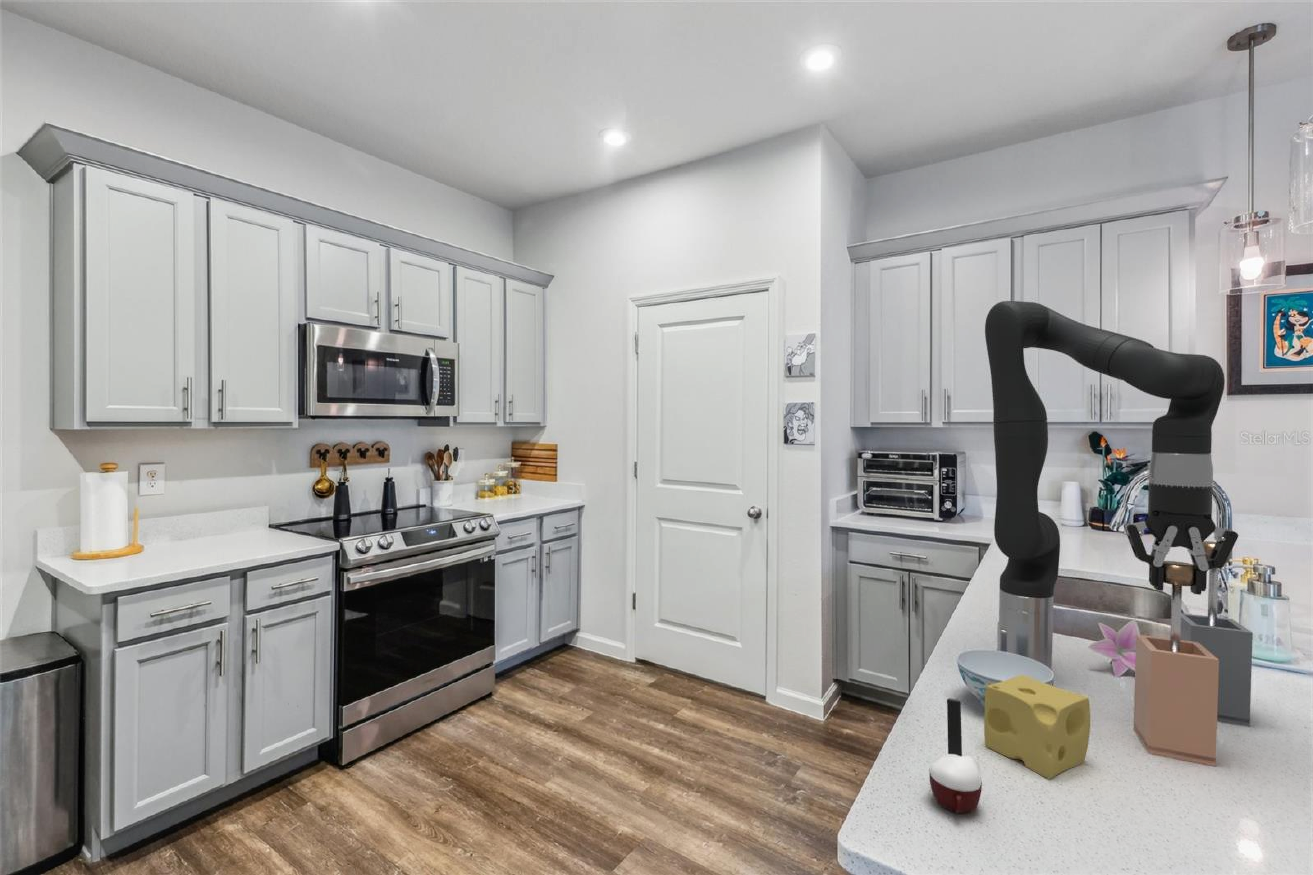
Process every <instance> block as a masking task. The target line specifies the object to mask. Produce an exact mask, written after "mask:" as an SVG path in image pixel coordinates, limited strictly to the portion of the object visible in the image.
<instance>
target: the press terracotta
mask: <svg viewBox="0 0 1313 875" xmlns="http://www.w3.org/2000/svg"><path fill="white" fill-rule="evenodd" d="M1218 674H1219V660H1218V659H1217V658H1216V657H1215V656H1214V655H1213V654H1211V653H1210V652H1209V651H1208V650H1207V649H1206V648H1204V647H1203V646H1202V645H1201V644H1200V643H1199V642H1192V641H1184V640H1180V653H1178V652H1171V651H1170V638H1167V637H1159V636H1151V635H1144V634H1140V635H1137V634H1136V655H1135V671H1134V694H1133V696H1134V697H1133V698H1134V699H1133V702H1134V703H1133V731H1134V733H1135V735H1136V736H1137V738H1138V739H1139V740H1140V742H1141V744H1142V746H1143V747H1144V749H1145V750H1146V752H1147V754H1151V755H1156V756H1161V757H1166V758H1171V759H1176V760H1182V761H1186V762H1190V763H1191V762H1192V763H1197V764H1201V765H1206V766H1213V767H1217V761H1216V760H1217V759H1216V758H1217V736H1218V735H1217V733H1218V732H1217V730H1218V721H1217V707H1218Z"/></svg>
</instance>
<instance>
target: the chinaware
mask: <svg viewBox="0 0 1313 875" xmlns="http://www.w3.org/2000/svg"><path fill="white" fill-rule="evenodd" d="M956 663H957V668H958V671H959V673H960V676H961V679H962V681H963V683H964V685H965V686H966V688H967V689H968V690H969V691H970V692H971V693H972V694H973V695H974V696H975V697H976V698H977V699H978V700H979V701H981V702H980V703H981V706H982V705H983V706H982V707H983V708H984V709H985V692H986V686H988V685H991V684H995V683H999V682H1002V681H1005V680H1008V679H1011V678H1013V677H1016V676H1019V675H1025V676H1028V677H1030V678H1033V679H1035V680H1038V681H1040V682H1043V683H1046V684H1049V685H1051V686H1053V683H1054V678H1055V674H1054V672H1053V670H1051V669H1049V668H1048V667H1047V666H1045V665H1043V664H1042V663H1040V662H1038V661H1035V660H1033V659H1030V658H1027V657H1024V656H1021V655H1017V654H1013V653H1008V652H1003V651H997V649H996V650H995V649H981V648H980V649H970V650H965V651H961V652H960V653H958V654H957V656H956Z"/></svg>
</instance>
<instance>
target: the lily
mask: <svg viewBox="0 0 1313 875" xmlns="http://www.w3.org/2000/svg"><path fill="white" fill-rule="evenodd" d="M1098 626H1099V628H1100V631H1101V634H1102V635H1103V637H1104V638H1103V639H1099V640H1097V641H1095V642H1093V643H1090V644H1089V645H1088V646H1087V648H1088V650H1090V651H1092V652H1094V653H1097V654H1099V655H1102V656H1104V657H1107V658H1109V659H1111V661H1110V665H1112V671H1113V675H1114V677H1115V678H1119V677H1121V676H1122V675H1124V674H1125V673H1126V672H1127V670H1128V669H1129V668H1130V669H1132V670H1133V671H1134V672H1135V655H1136V634H1137V635H1141V632H1140V629H1139V625H1138V623H1137V621H1136V620H1134V619H1133V620H1130V621H1129V622H1128V623H1126V624H1125V625H1123V627H1122V628H1120V629H1119V630H1118V631H1116V630H1115V629H1113V628H1112V627H1110V626H1108V625H1106V624H1105V623H1102V622H1098Z"/></svg>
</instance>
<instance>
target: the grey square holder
mask: <svg viewBox="0 0 1313 875" xmlns="http://www.w3.org/2000/svg"><path fill="white" fill-rule="evenodd" d="M1207 622H1208V615H1201V614H1200V615H1199V614H1192V613H1184V612H1181V638H1180V640H1184V641H1192V642H1199V643H1200V644H1201V645H1202V646H1203V647H1204V648H1206V649H1207V650H1208V651H1209V652H1210V653H1211V654H1213V655H1214V656H1215V657H1216V658H1217V659H1218V660H1219V674H1218V707H1217V722H1219V723H1226V724H1232V725H1236V726H1242V727H1249V728H1250V726H1251V700H1252V698H1251V696H1252V695H1251V694H1252V670H1253V669H1252V666H1253V665H1252V662H1253V631H1251V630H1249V629H1248V628H1246V627H1245V626H1243V625H1242V624H1241V623H1239V622H1238V621H1236V620H1234V619H1233V618H1227V617H1221V616H1220V617H1219V616H1217V627H1213V626H1207Z"/></svg>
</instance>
